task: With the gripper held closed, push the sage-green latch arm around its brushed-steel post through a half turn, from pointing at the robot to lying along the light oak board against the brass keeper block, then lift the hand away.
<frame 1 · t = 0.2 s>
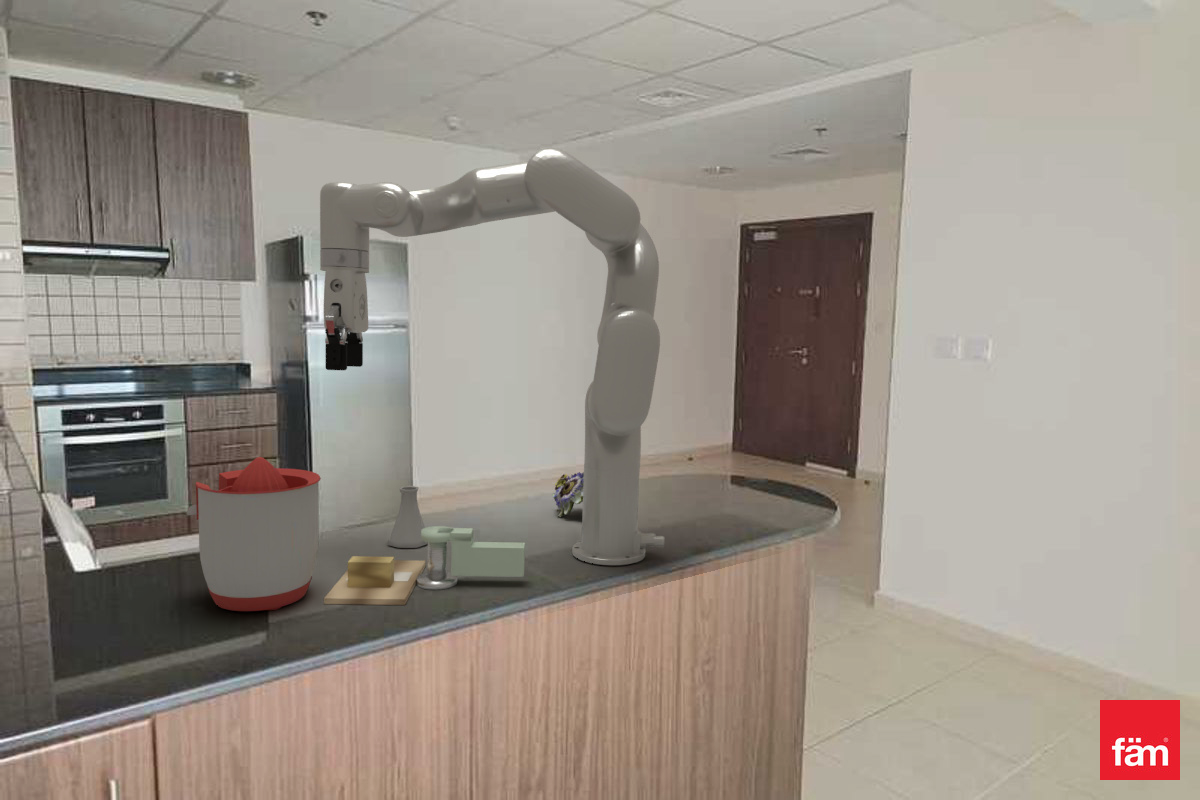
hand: (344, 368, 124), 31 cm above the counter, tool pointing down, fingers open, 9 cm apart
citrus juicer: (255, 599, 105), on the counter
post: (436, 582, 114), on the counter
latch arm: (473, 552, 114), point 5 cm above the counter, hinge at 0.0°
flask: (408, 544, 133), on the counter
oak board: (378, 583, 113), on the counter
passion flower: (580, 517, 156), on the counter
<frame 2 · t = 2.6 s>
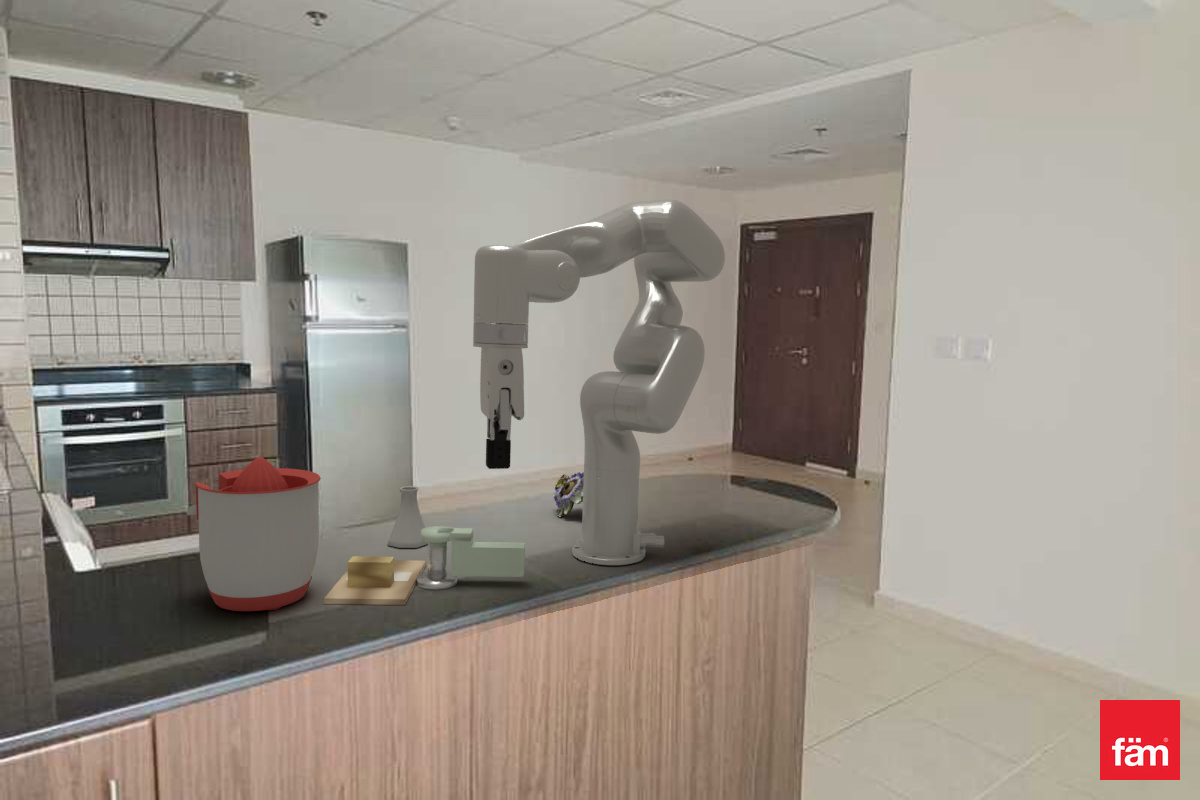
hand: (497, 467, 107), 19 cm above the counter, tool pointing down, fingers closed
nothing on the counter moved.
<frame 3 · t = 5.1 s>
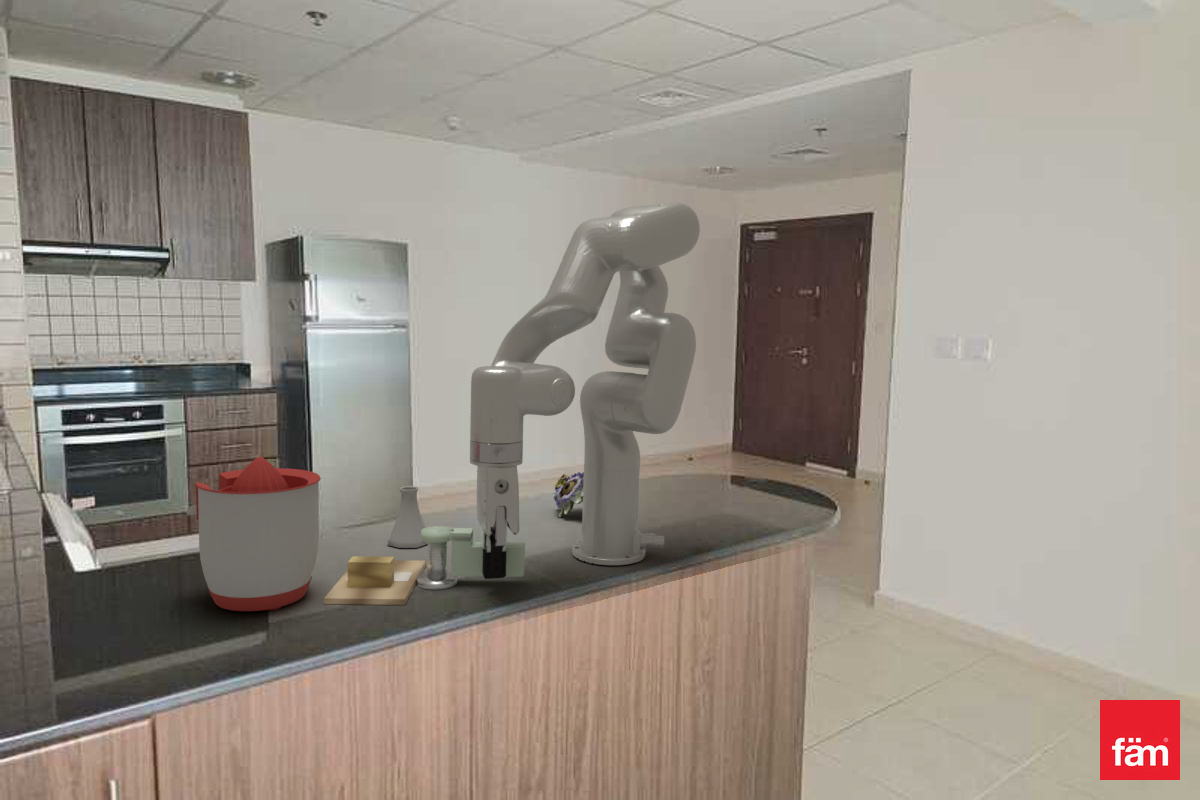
hand: (494, 576, 110), 2 cm above the counter, tool pointing down, fingers closed
latch arm: (473, 551, 114), point 5 cm above the counter, hinge at 0.5°, touching gripper
everything else where it was.
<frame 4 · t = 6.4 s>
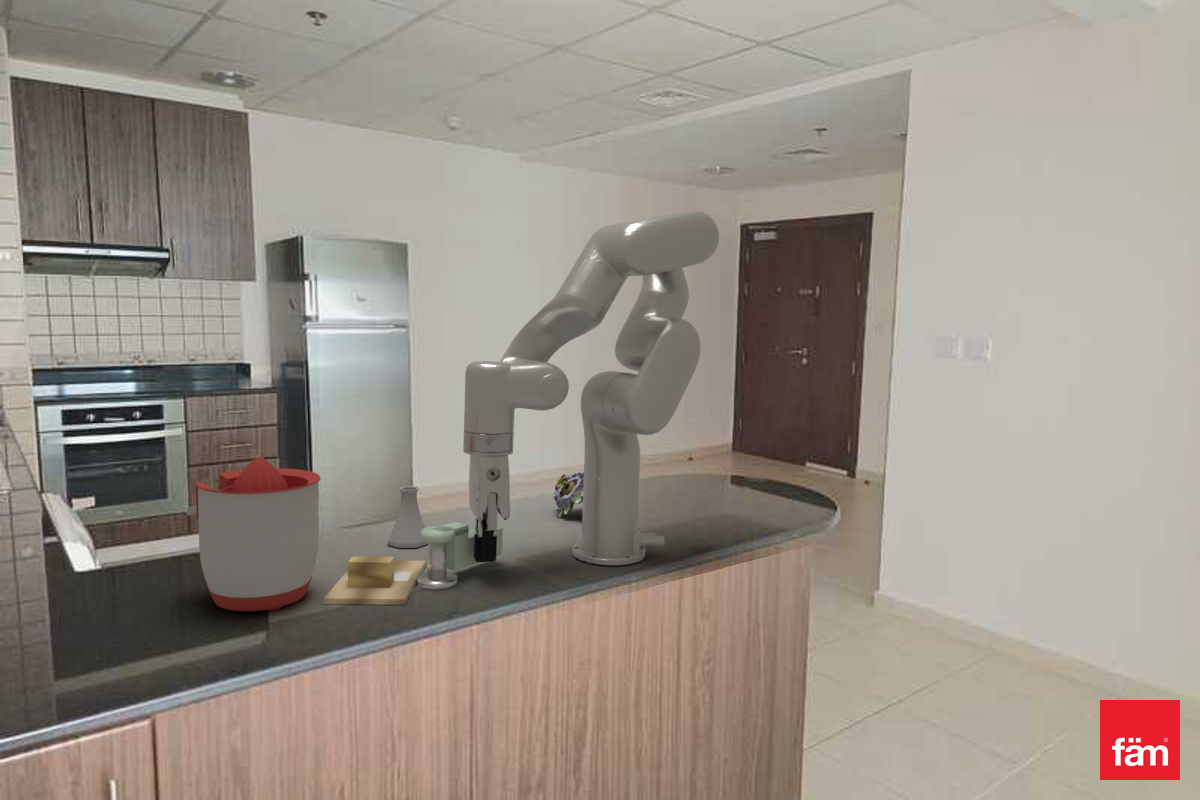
hand: (484, 560, 117), 3 cm above the counter, tool pointing down, fingers closed
latch arm: (462, 543, 118), point 5 cm above the counter, hinge at 52.2°, touching gripper
everything else where it was.
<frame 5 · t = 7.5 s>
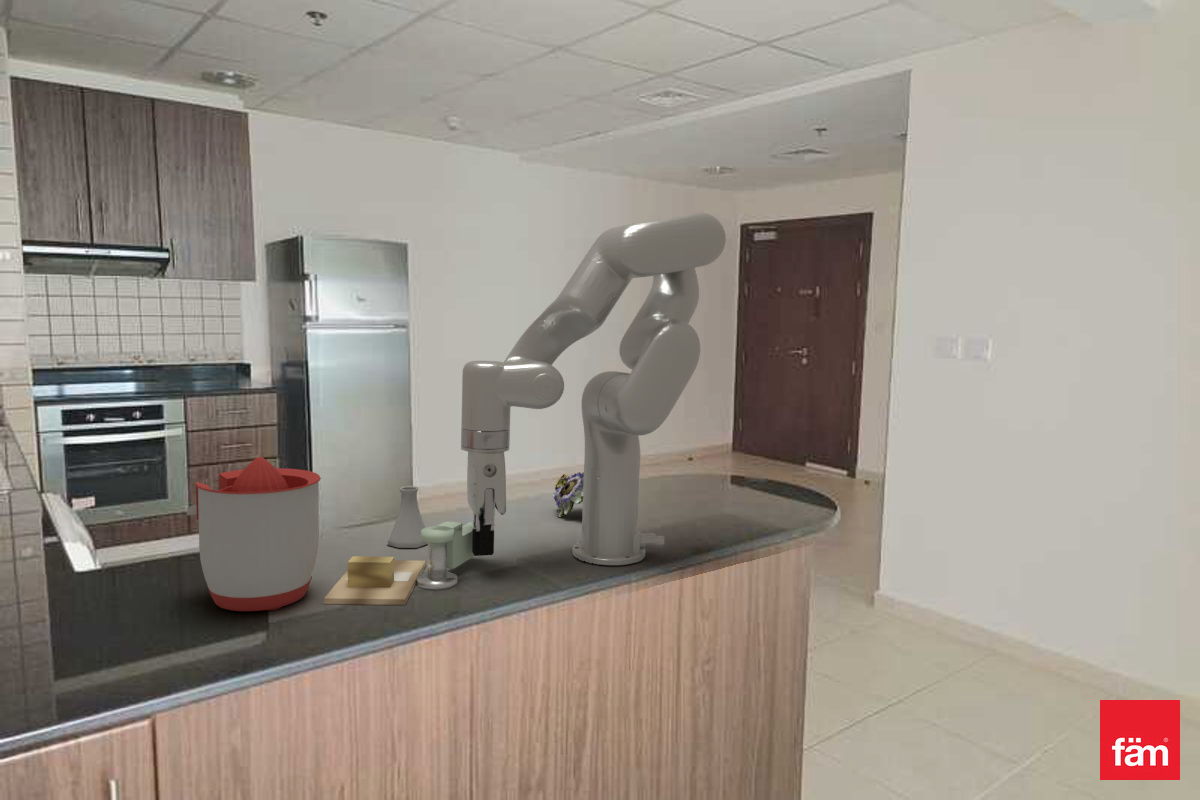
hand: (482, 553, 120), 3 cm above the counter, tool pointing down, fingers closed
latch arm: (454, 542, 118), point 5 cm above the counter, hinge at 68.7°, touching gripper
everything else where it was.
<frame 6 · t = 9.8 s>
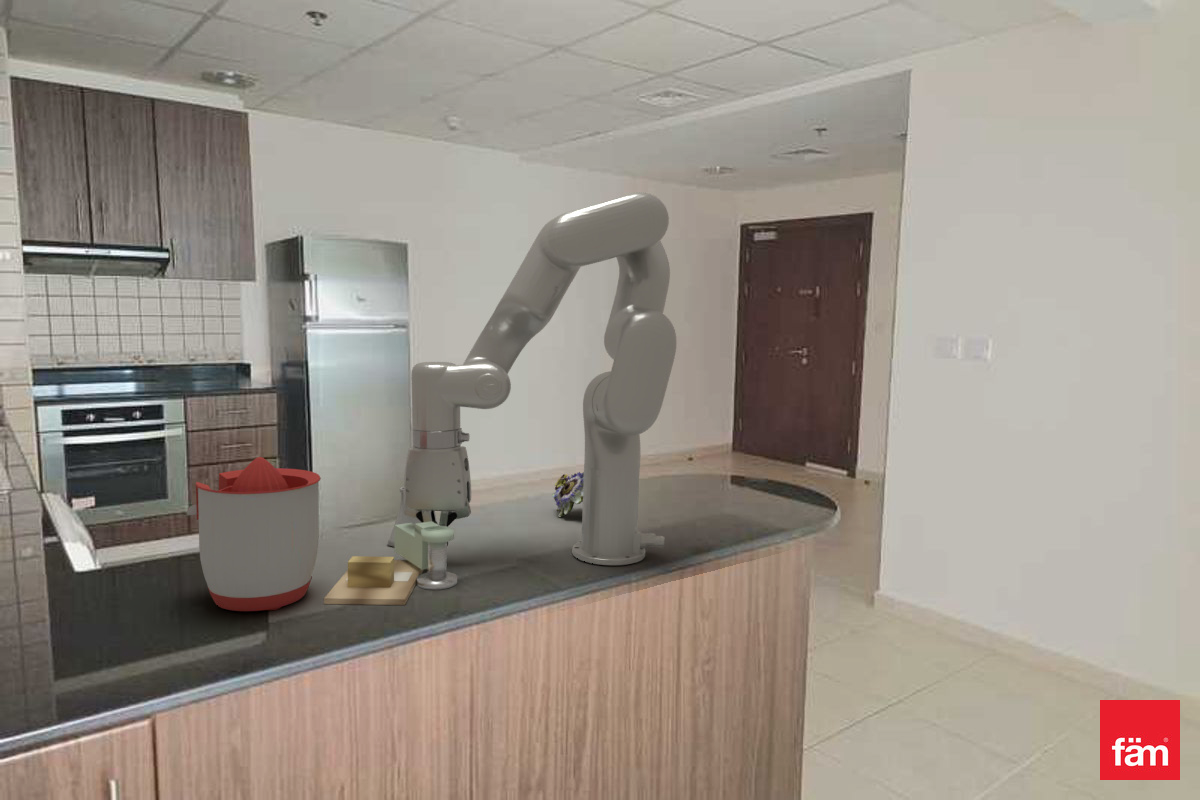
hand: (438, 551, 123), 2 cm above the counter, tool pointing down, fingers closed
latch arm: (422, 542, 118), point 5 cm above the counter, hinge at 123.9°, touching gripper
everything else where it was.
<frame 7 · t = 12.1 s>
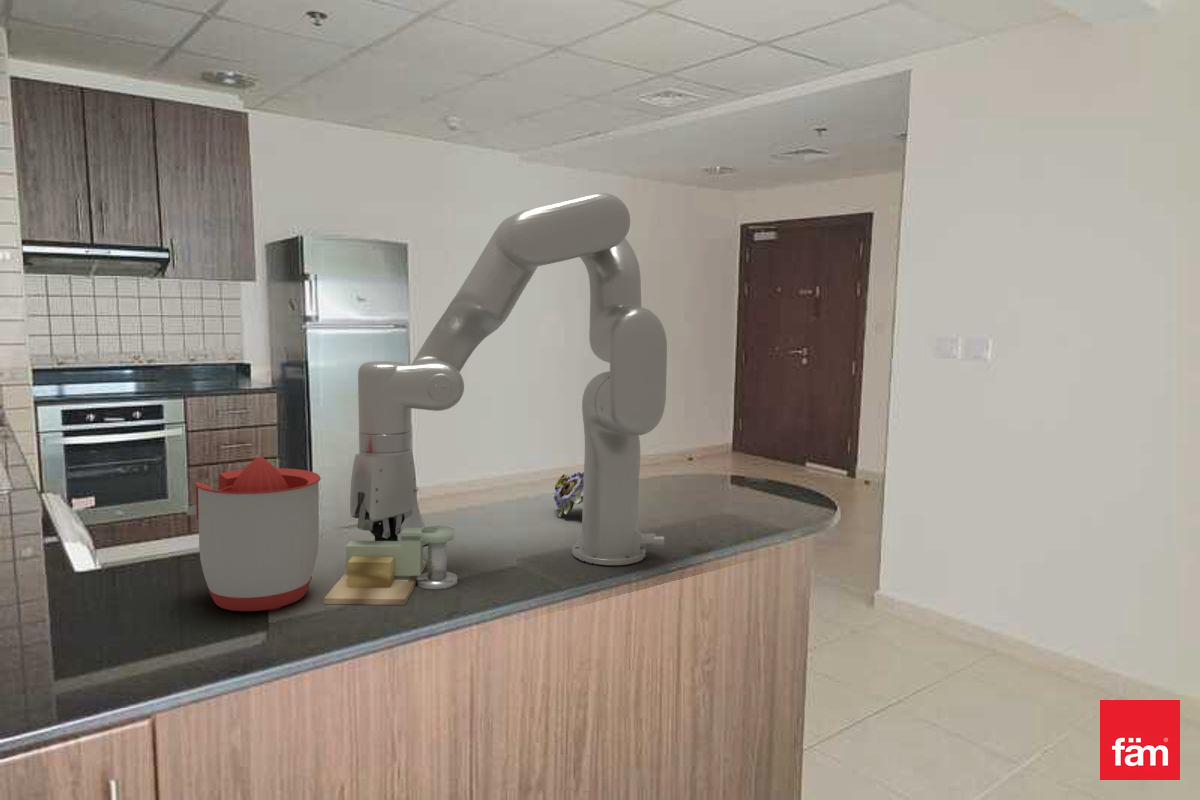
hand: (386, 560, 117), 2 cm above the counter, tool pointing down, fingers closed
latch arm: (401, 551, 113), point 5 cm above the counter, hinge at 181.9°, touching gripper, oak board
everything else where it was.
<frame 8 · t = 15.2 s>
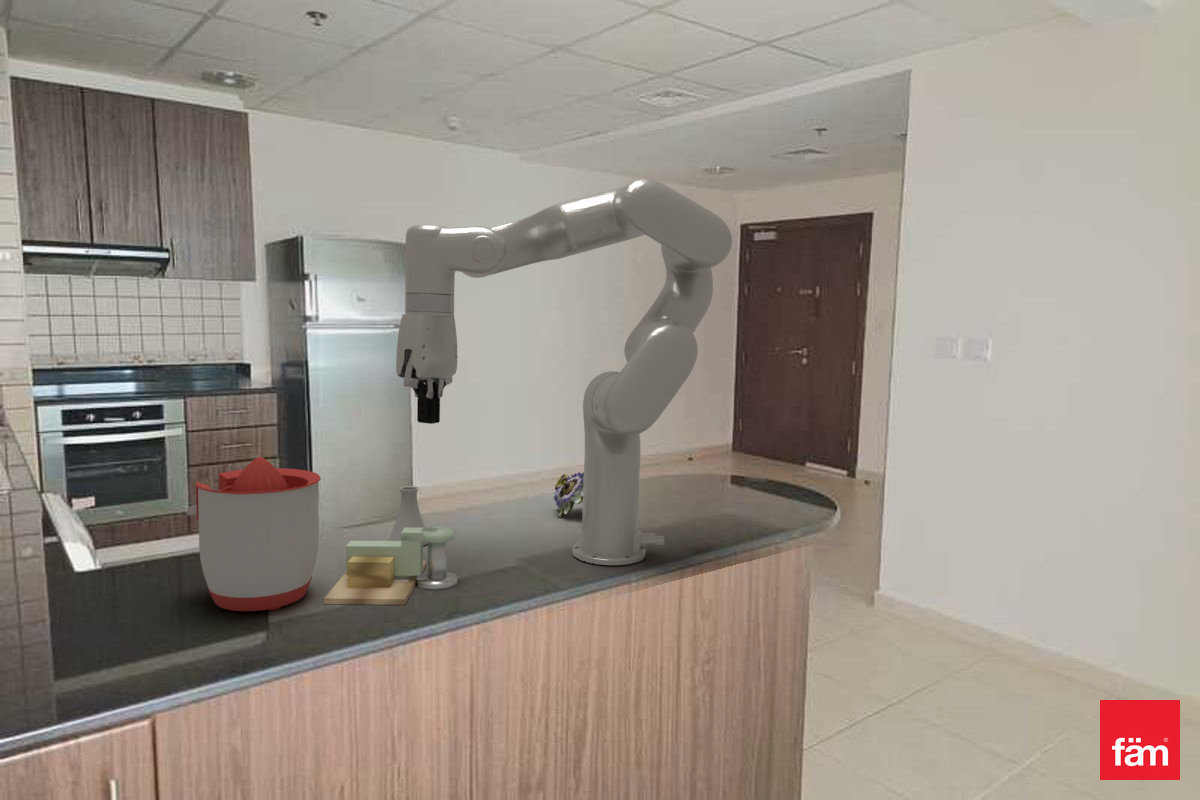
hand: (428, 422, 120), 23 cm above the counter, tool pointing down, fingers closed
latch arm: (401, 551, 113), point 5 cm above the counter, hinge at 181.9°, touching oak board
everything else where it was.
at the end: latch arm at +182° (first picture: +0°) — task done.
